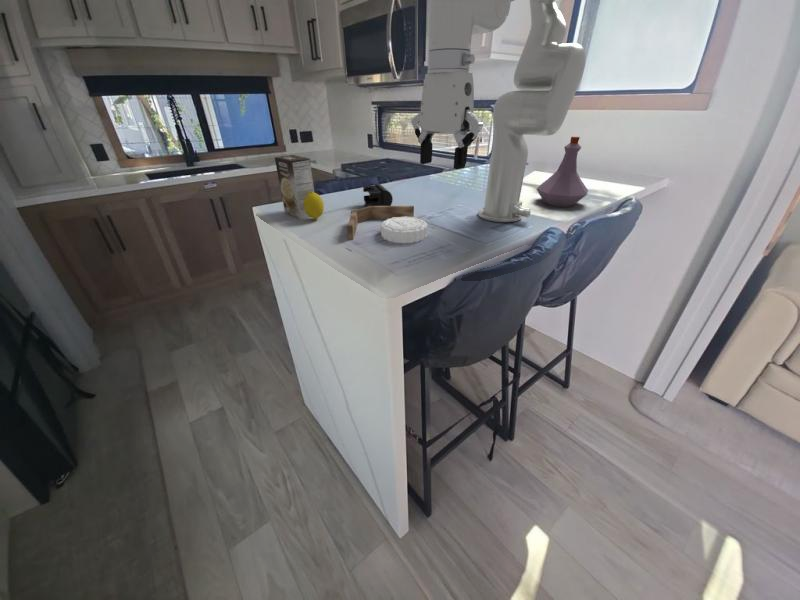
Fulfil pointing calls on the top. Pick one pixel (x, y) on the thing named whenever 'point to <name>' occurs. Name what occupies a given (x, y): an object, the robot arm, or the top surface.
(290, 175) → the coffee box
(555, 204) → the flask
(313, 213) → the lemon
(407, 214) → the centring jig
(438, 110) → the robot arm
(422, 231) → the mooncake
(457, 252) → the top surface
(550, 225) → the top surface
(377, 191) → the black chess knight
